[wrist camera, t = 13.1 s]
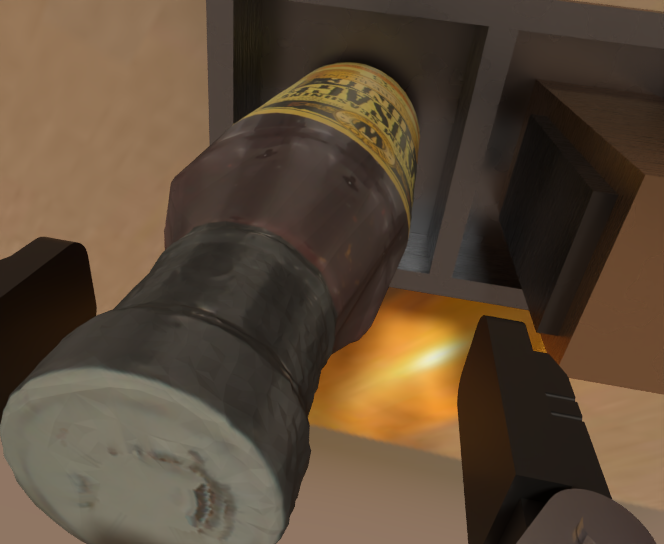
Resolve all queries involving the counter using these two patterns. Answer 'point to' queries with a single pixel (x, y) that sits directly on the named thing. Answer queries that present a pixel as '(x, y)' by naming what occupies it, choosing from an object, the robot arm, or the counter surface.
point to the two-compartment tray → (501, 152)
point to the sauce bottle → (227, 326)
